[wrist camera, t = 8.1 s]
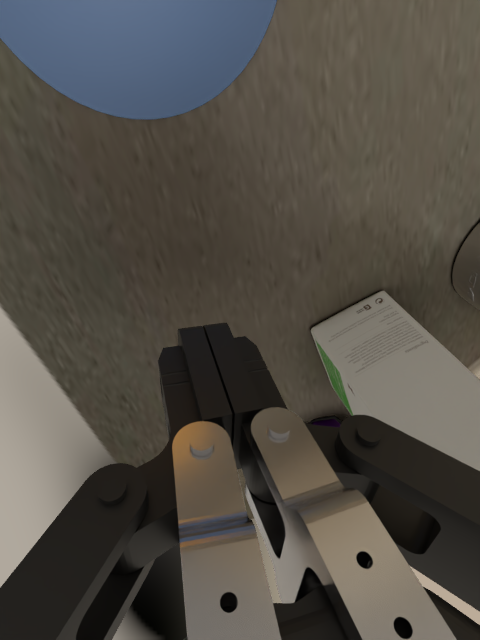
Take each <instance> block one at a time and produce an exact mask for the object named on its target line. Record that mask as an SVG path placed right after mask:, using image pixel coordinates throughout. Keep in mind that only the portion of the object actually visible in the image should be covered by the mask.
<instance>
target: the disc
mask: <svg viewBox="0 0 480 640" xmlns="http://www.w3.org/2000/svg"><path fill="white" fill-rule="evenodd" d="M276 2H277V0H0V38H1V39H2V41H3V42H4V43H5V44H6V45H7V46H8V47H9V48H10V49H11V51H12V52H13V53H14V54H15V55H16V56H17V57H18V58H19V59H20V60H21V61H22V62H23V63H24V64H25V65H26V66H27V67H28V68H29V69H30V70H32V71H33V72H34V73H35V74H36V75H37V76H38V77H39V78H41V79H42V80H43V81H45V82H46V83H48V84H49V85H50V86H52V87H53V88H54V89H56V90H57V91H58V92H60V93H62V94H64V95H65V96H67V97H69V98H71V99H72V100H74V101H76V102H77V103H80V104H82V105H84V106H87V107H89V108H91V109H94V110H96V111H99V112H102V113H106V114H109V115H113V116H117V117H123V118H130V119H159V118H167V117H172V116H175V115H179V114H183V113H186V112H188V111H190V110H193V109H195V108H197V107H199V106H202V105H203V104H205V103H206V102H208V101H210V100H211V99H213V98H214V97H216V96H217V95H218V94H220V93H221V92H222V91H223V90H224V89H225V88H227V87H228V86H229V85H230V84H231V83H232V82H233V81H234V80H235V79H236V78H237V76H238V75H239V74H240V73H241V72H242V71H243V70H244V68H245V67H246V65H247V64H248V62H249V61H250V60H251V58H252V57H253V55H254V54H255V52H256V50H257V48H258V46H259V45H260V43H261V41H262V39H263V37H264V35H265V33H266V30H267V28H268V25H269V23H270V20H271V18H272V15H273V12H274V9H275V5H276Z"/></svg>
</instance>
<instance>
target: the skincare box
mask: <svg viewBox="0 0 480 640" xmlns="http://www.w3.org/2000/svg"><path fill="white" fill-rule="evenodd" d="M311 333H312V336H313V339H314V341H315V344H316V347H317V350H318V352H319V355H320V357H321V360H322V362H323V365H324V367H325V370H326V372H327V375H328V378H329V381H330V383H331V386H332V387H333V389H334V390H335V392H336V393H337V395H338V396H339V398H340V399H341V401H342V402H343V404H344V405H345V407H346V408H347V409H348V411H349V412H350V414H351V415H352V416H353V415H368V416H371V417H374V418H376V419H378V420H380V421H382V422H384V423H386V424H388V425H390V426H392V427H394V428H396V429H398V430H400V431H402V432H404V433H406V434H408V435H410V436H412V437H414V438H416V439H418V440H420V441H422V442H424V443H426V444H427V445H429V446H431V447H433V448H435V449H437V450H439V451H441V452H443V453H445V454H447V455H449V456H451V457H453V458H455V459H457V460H459V461H461V462H463V463H465V464H467V465H469V466H471V467H473V468H475V469H476V470H478V471H480V380H479V379H478V378H477V377H476V376H475V375H474V374H473V373H472V372H471V371H470V370H469V369H468V368H466V367H465V366H464V365H463V364H462V363H461V362H460V361H459V360H458V359H457V358H456V357H455V356H454V355H452V354H451V353H450V352H449V351H448V350H447V349H446V348H445V347H444V346H443V345H442V344H441V343H440V342H438V341H437V340H436V339H435V338H434V337H433V336H432V335H431V334H430V333H429V332H428V331H427V330H426V329H424V328H423V327H422V326H421V325H420V324H419V323H418V322H417V321H416V320H415V319H414V318H413V317H412V316H410V315H409V314H408V313H407V312H406V311H405V310H404V309H403V308H402V307H401V306H400V305H399V304H398V303H397V302H395V301H394V300H393V299H392V298H391V297H390V296H389V295H388V294H387V293H386V292H385V291H384V290H383V291H380V292H378V293H376V294H374V295H372V296H370V297H368V298H366V299H364V300H363V301H361V302H359V303H357V304H355V305H353V306H351V307H349V308H347V309H345V310H344V311H342V312H340V313H338V314H336V315H335V316H333V317H331V318H329V319H327V320H325V321H323V322H322V323H320V324H318V325H316V326H315V327H313V328H312V329H311Z"/></svg>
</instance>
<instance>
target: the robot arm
mask: <svg viewBox="0 0 480 640" xmlns="http://www.w3.org/2000/svg"><path fill="white" fill-rule="evenodd" d="M452 279H453V286H454V288H455V291H456V292H457V293H458V294H459V295H460V296H461V297H462V298H463V299H465V300H466V301H467V302H469V303H470V304H471V305H473V306H474V307H475V308H477V309H478V310H479V311H480V223H479V224H478V225H477V226H476V227H475V228H474V229H473V230H472V232H471V233H470V235H469V236H468V237H467V239H466V240H465V242H464V244H463V245H462V247H461V249H460V251H459V253H458V255H457V258H456V261H455V263H454V267H453V274H452ZM158 364H159V374H160V384H161V394H162V401H163V407H164V413H165V419H166V424H167V430H168V436H169V441H168V443H167V446H166V447H165V448H164V450H163V451H162V452H161V453H160V454H159V455H158V456H157V457H155V458H154V459H152V460H151V461H149V462H147V463H145V464H143V465H141V466H139V467H138V468H135V467H134V466H131V465H128V464H123V463H119V464H111V465H108V466H105V467H103V468H100V469H99V470H97V471H96V472H94V473H93V474H92V475H91V476H90V477H89V478H88V479H87V480H86V481H85V482H84V484H83V485H82V486H81V487H80V489H79V490H78V491H77V492H76V494H75V495H74V496H73V497H72V499H71V500H70V501H69V502H68V504H67V505H66V506H65V507H64V509H63V510H62V511H61V513H60V514H59V515H58V516H57V517H56V519H55V520H54V521H53V522H52V524H51V525H50V526H49V527H48V529H47V530H46V531H45V533H44V534H43V535H42V536H41V538H40V539H39V540H38V541H37V543H36V544H35V545H34V546H33V548H32V549H31V550H30V551H29V553H28V554H27V555H26V556H25V558H24V559H23V560H22V561H21V563H20V564H19V565H18V567H17V568H16V569H15V570H14V572H13V573H12V574H11V575H10V576H9V578H8V579H7V581H6V582H5V583H4V584H3V585H2V587H1V588H0V640H112V638H113V636H114V635H115V633H116V631H117V629H118V627H119V625H120V623H121V622H122V620H123V618H124V616H125V614H126V612H127V611H128V609H129V607H130V605H131V603H132V602H133V600H134V598H135V596H136V594H137V592H138V590H139V589H140V587H141V585H142V583H143V581H144V579H145V577H146V576H147V574H148V572H149V570H150V568H151V566H152V564H153V562H154V560H155V558H157V557H158V556H160V555H161V554H163V553H164V552H165V551H167V550H169V549H170V548H172V547H173V546H175V545H176V544H178V543H179V542H180V551H181V562H182V575H183V588H184V600H185V612H186V625H187V637H186V638H185V639H184V640H480V625H479V624H477V623H476V622H474V621H473V620H471V619H470V618H469V617H467V616H466V615H464V614H463V613H462V612H460V611H459V610H457V609H456V608H455V607H453V606H452V605H450V604H449V603H448V602H446V601H445V600H443V599H442V598H440V597H439V596H438V595H436V594H435V593H433V592H432V591H430V590H428V589H426V588H425V587H423V586H422V585H421V583H420V582H419V580H418V579H417V577H416V576H415V574H414V572H413V571H412V569H411V568H410V566H411V567H413V568H414V569H416V570H417V571H419V572H420V573H422V574H423V575H425V576H426V577H428V578H430V579H431V580H433V581H434V582H436V583H437V584H439V585H440V586H442V587H443V588H445V589H446V590H448V591H449V592H451V593H452V594H454V595H455V596H457V597H458V598H460V599H462V600H463V601H465V602H466V603H468V604H469V605H471V606H472V607H474V608H475V609H477V610H478V611H480V471H478V470H476V469H475V468H473V467H471V466H469V465H467V464H465V463H463V462H461V461H459V460H457V459H455V458H453V457H451V456H449V455H447V454H445V453H443V452H441V451H439V450H437V449H435V448H433V447H431V446H429V445H427V444H426V443H424V442H422V441H420V440H418V439H416V438H414V437H412V436H410V435H408V434H406V433H404V432H402V431H400V430H398V429H396V428H394V427H392V426H390V425H388V424H386V423H384V422H382V421H380V420H378V419H376V418H374V417H371V416H368V415H353V416H350V417H347V418H346V419H345V420H344V421H343V422H342V423H341V425H340V427H330V426H319V425H312V424H309V423H306V422H303V420H302V419H301V418H300V417H299V416H298V415H297V414H295V413H294V412H292V411H290V410H288V409H287V407H286V405H285V403H284V401H283V399H282V397H281V395H280V393H279V391H278V389H277V387H276V385H275V383H274V381H273V379H272V377H271V375H270V372H269V370H267V366H266V364H265V362H264V360H263V359H262V356H261V354H260V352H259V350H258V348H257V346H256V345H255V344H254V343H253V342H251V341H250V340H249V339H248V338H247V337H245V336H244V337H237V338H233V335H232V333H231V331H230V328H229V326H228V324H227V323H219V324H211V325H204V326H203V327H202V326H197V327H189V328H182V329H178V346H174V347H167V348H163V350H162V353H161V355H160V358H159V360H158ZM240 468H242V470H243V474H244V477H245V480H246V482H245V494H246V498H247V500H248V503H249V505H250V508H251V510H252V513H253V515H254V518H255V520H256V523H257V525H258V528H259V530H260V533H261V535H262V538H263V541H264V543H265V546H266V548H267V550H268V553H269V555H270V558H271V561H272V564H273V567H274V571H275V579H276V584H277V589H278V592H279V596H280V599H281V602H282V603H273V602H272V597H271V593H270V589H269V584H268V580H267V576H266V572H265V567H264V563H263V559H262V554H261V550H260V546H259V541H258V537H257V533H256V530H255V526H254V524H253V522H252V520H251V519H249V518H248V515H247V512H246V508H245V503H244V499H243V494H242V490H241V485H240V481H239V476H238V472H237V469H240ZM409 565H410V566H409Z"/></svg>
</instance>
